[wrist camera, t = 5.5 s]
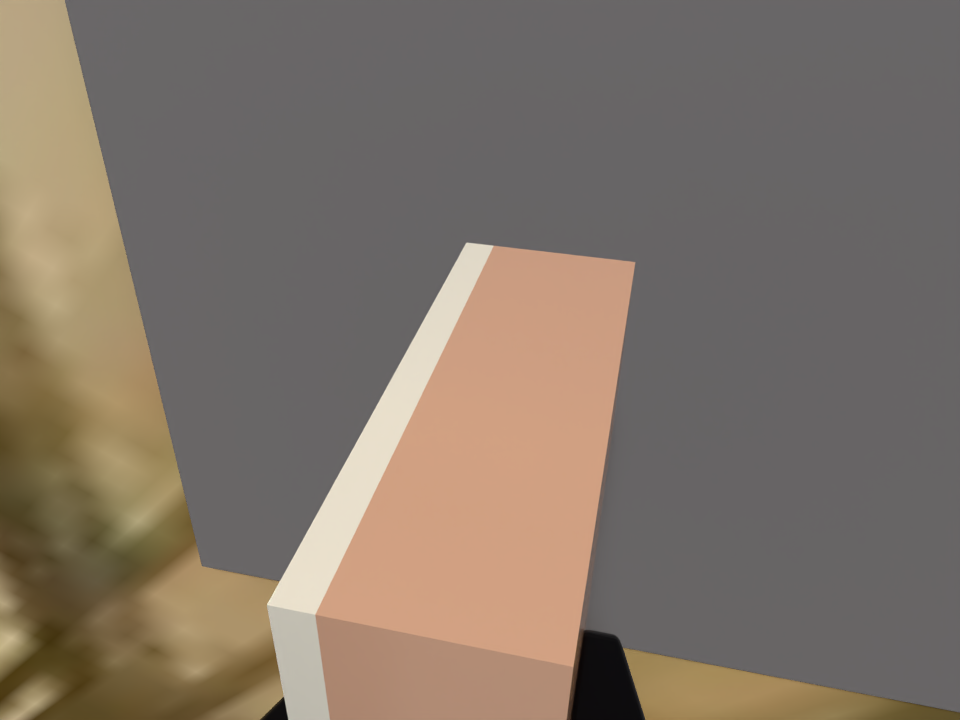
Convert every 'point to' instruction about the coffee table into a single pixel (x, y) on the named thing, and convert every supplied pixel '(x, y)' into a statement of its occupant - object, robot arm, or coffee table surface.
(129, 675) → the coffee table surface
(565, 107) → the mat
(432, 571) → the tile
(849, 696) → the coffee table surface
